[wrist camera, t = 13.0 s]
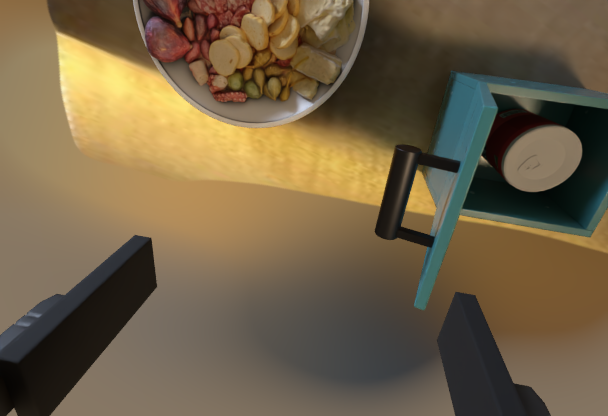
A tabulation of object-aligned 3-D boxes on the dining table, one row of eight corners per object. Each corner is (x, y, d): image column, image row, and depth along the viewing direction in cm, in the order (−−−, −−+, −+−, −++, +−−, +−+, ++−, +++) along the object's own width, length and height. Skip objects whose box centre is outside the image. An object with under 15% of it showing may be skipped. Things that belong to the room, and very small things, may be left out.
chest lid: (499, 108, 19) (403, 91, 20) (424, 311, 26) (357, 286, 27) (486, 83, 34) (432, 74, 36) (442, 214, 41) (398, 202, 42)
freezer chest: (586, 88, 45) (666, 107, 33) (538, 191, 52) (590, 237, 40) (451, 70, 47) (481, 81, 35) (421, 172, 53) (438, 211, 41)
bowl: (327, -197, 37) (319, -251, 30) (393, 82, 48) (398, 90, 41) (111, -68, 46) (66, -88, 39) (210, 144, 57) (188, 159, 50)
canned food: (463, 143, 50) (488, 168, 40) (508, 95, 46) (547, 110, 36) (504, 173, 50) (537, 205, 41) (551, 128, 47) (600, 151, 37)
